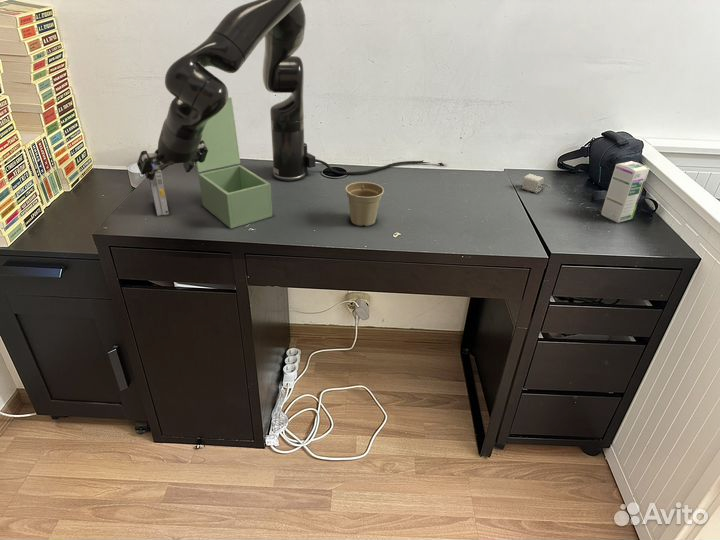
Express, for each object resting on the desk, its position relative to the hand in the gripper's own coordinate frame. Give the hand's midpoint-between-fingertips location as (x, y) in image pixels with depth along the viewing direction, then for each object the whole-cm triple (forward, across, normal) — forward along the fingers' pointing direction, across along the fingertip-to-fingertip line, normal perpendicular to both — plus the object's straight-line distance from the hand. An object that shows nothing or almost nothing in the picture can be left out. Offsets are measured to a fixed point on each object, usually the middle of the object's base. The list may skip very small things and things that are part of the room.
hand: (168, 172), depth 115 cm
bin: (+8, +15, -11) cm, 20 cm away
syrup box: (-35, +95, -53) cm, 114 cm away
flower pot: (-8, +38, -27) cm, 47 cm away
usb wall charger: (-18, +92, -37) cm, 101 cm away
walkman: (+16, 0, -2) cm, 17 cm away
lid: (+1, +15, +7) cm, 17 cm away
